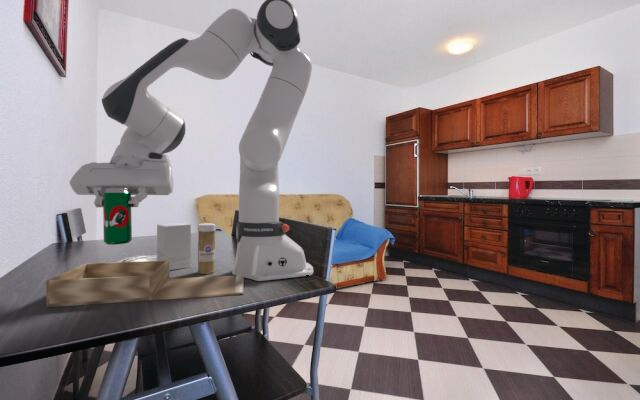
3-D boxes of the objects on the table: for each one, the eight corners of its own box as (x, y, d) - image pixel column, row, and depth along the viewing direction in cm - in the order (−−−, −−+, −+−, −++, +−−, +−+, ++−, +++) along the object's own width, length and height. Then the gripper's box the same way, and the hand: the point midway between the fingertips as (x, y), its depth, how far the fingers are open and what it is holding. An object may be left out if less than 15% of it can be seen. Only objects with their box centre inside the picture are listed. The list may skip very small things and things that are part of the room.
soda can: (137, 241, 67) (136, 188, 66) (118, 245, 62) (118, 187, 61) (117, 241, 67) (116, 188, 67) (97, 244, 62) (96, 188, 62)
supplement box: (191, 267, 87) (191, 224, 86) (164, 271, 81) (164, 226, 81) (182, 262, 92) (182, 222, 92) (156, 266, 87) (156, 223, 86)
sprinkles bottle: (202, 275, 78) (202, 225, 78) (194, 272, 81) (194, 223, 81) (218, 272, 81) (218, 224, 81) (210, 269, 85) (210, 222, 84)
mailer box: (243, 276, 78) (243, 257, 78) (243, 294, 64) (243, 271, 64) (85, 284, 69) (85, 263, 69) (46, 307, 56) (46, 280, 55)
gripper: (78, 152, 68) (52, 195, 59) (174, 155, 73) (164, 195, 64) (88, 172, 73) (65, 215, 63) (178, 174, 78) (169, 214, 68)
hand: (116, 205), depth 64 cm, fingers closed on soda can, 5 cm apart
